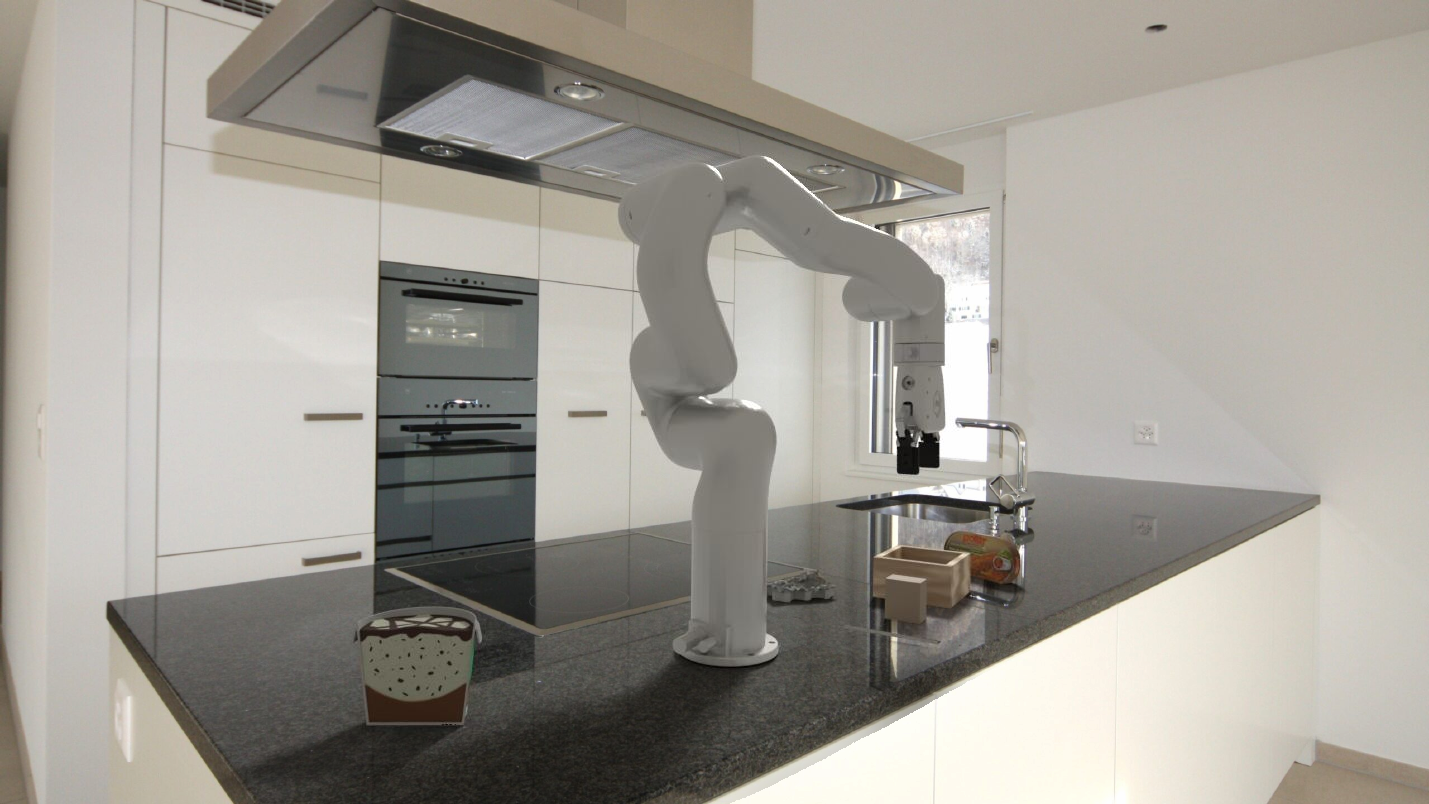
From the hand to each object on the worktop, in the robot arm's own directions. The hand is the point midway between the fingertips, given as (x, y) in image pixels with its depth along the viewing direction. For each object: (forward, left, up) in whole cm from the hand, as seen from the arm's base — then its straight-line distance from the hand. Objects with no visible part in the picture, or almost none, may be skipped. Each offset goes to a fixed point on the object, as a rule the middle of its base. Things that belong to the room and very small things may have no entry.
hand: (918, 470), depth 120 cm
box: (+7, +1, -21) cm, 22 cm away
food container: (-65, +30, -21) cm, 75 cm away
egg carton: (-4, +17, -22) cm, 28 cm away
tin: (+25, -4, -21) cm, 33 cm away
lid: (-8, -1, -22) cm, 23 cm away
